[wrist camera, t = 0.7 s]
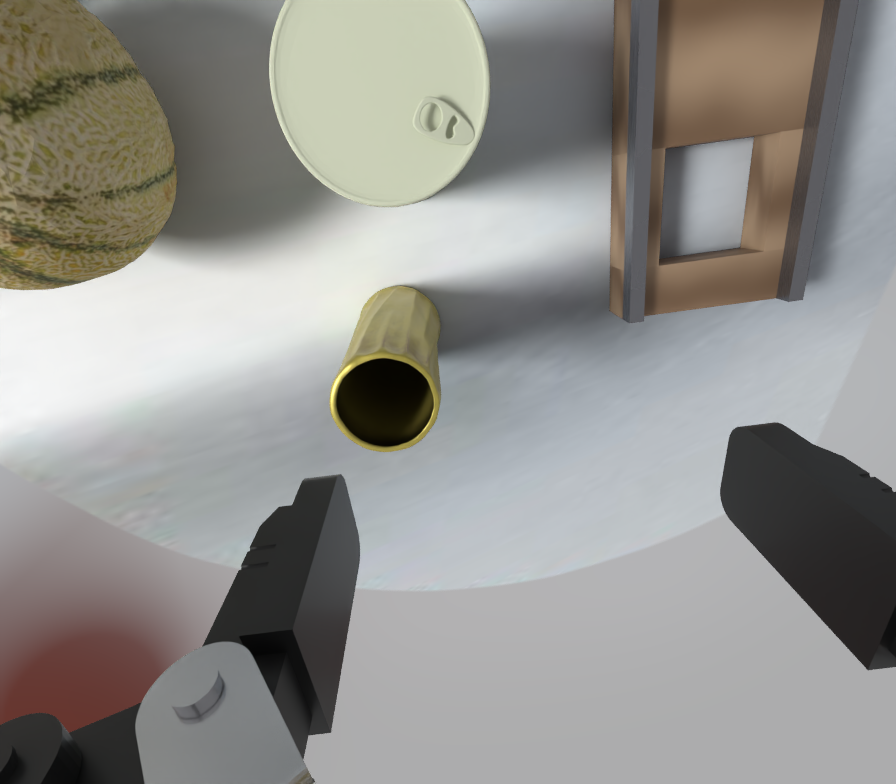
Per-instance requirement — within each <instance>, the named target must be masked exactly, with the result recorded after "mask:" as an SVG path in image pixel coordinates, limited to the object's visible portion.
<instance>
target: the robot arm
mask: <svg viewBox="0 0 896 784" xmlns="http://www.w3.org/2000/svg"><path fill="white" fill-rule="evenodd" d="M720 496H721V502H722V505H723V508H724V510H725V512H726V514H727V516H728V517H729V519H730V520H731V521H732V522H733V523H734V525H735V526H736V527H737V528H738V529H739V530H740V531H741V532H742V533H743V534H744V535H745V537H746V538H747V539H748V540H749V541H750V542H751V543H752V544H753V545H754V546H755V547H756V548H757V550H758V551H759V552H760V553H761V554H762V555H763V556H764V557H765V558H766V560H767V561H768V562H769V563H770V564H771V565H772V566H773V567H774V568H775V569H776V570H777V571H778V572H779V574H780V575H781V576H782V577H783V578H784V579H785V580H786V581H787V582H788V583H789V584H790V586H791V587H792V588H793V589H794V590H795V591H796V592H797V593H798V594H799V595H800V596H801V598H802V599H803V600H804V601H805V602H806V603H807V604H808V605H809V606H810V607H811V608H812V610H813V611H814V612H815V613H816V614H817V615H818V616H819V617H820V618H821V619H822V621H823V622H824V623H825V624H826V625H827V626H828V627H829V628H830V629H831V630H832V631H833V633H834V634H835V635H836V636H837V637H838V638H839V639H840V640H841V641H842V642H843V643H844V644H845V646H846V647H847V648H848V649H849V650H850V651H851V652H852V653H853V654H854V655H855V657H856V658H857V659H858V660H859V661H860V662H861V663H862V664H863V665H864V666H865V667H866V669H867V670H873V669H881V668H890V667H896V492H893V491H892V488H891V487H889V486H888V485H887V484H885V483H883V482H882V481H880V480H879V479H877V478H876V477H870V475H869V473H868V472H866V471H865V470H863V469H862V468H860V467H858V466H857V465H856V464H854V463H852V462H851V461H849V460H848V459H846V458H845V457H843V456H841V455H838V454H836V453H833V452H831V451H828V450H826V449H823V448H821V447H818V446H816V445H813V444H812V443H810V442H809V441H807V440H806V439H804V438H803V437H801V436H800V435H798V434H797V433H795V432H794V431H792V430H791V429H789V428H787V427H786V426H784V425H783V424H780V423H767V424H759V425H751V426H743V427H737V428H735V429H734V430H733V431H732V432H731V434H730V437H729V442H728V448H727V454H726V459H725V465H724V471H723V477H722V482H721V489H720ZM359 561H360V544H359V535H358V530H357V526H356V522H355V518H354V514H353V510H352V506H351V502H350V498H349V494H348V490H347V486H346V483H345V480H344V478H343V476H342V475H341V474H339V475H331V476H323V477H315V478H306V479H304V480H303V481H302V483H301V485H300V487H299V490H298V492H297V495H296V497H295V500H294V502H293V505H291V506H282V507H278V508H277V509H276V510H275V511H274V512H273V513H272V514H271V516H270V517H269V518H268V519H267V520H266V521H265V522H264V523H263V524H262V525H261V526H260V527H259V529H258V531H257V534H256V536H255V538H254V540H253V542H252V544H251V546H250V551H249V552H247V554H246V557H245V559H244V561H243V563H242V565H241V567H242V568H241V570H239V571H238V573H237V575H236V577H235V580H234V582H233V584H232V586H231V588H230V590H229V592H228V594H227V596H226V598H225V601H224V603H223V605H222V607H221V609H220V611H219V613H218V615H217V617H216V619H215V622H214V624H213V626H212V628H211V630H210V632H209V634H208V636H207V638H206V640H205V642H204V644H203V646H202V647H201V648H198V649H196V650H194V651H192V652H190V653H189V654H187V655H185V656H184V657H182V658H181V659H179V660H178V661H176V662H175V663H174V664H173V665H172V666H170V667H169V668H168V669H167V670H166V671H165V672H164V673H163V674H162V675H161V676H160V677H159V678H158V679H157V680H156V682H155V683H154V684H153V685H152V686H151V688H150V689H149V691H148V693H147V694H146V696H145V697H144V699H143V701H142V702H141V703H139V704H137V705H135V706H133V707H130V708H128V709H125V710H123V711H121V712H118V713H116V714H114V715H111V716H109V717H106V718H104V719H102V720H99V721H97V722H94V723H92V724H89V725H87V726H85V727H82V728H80V729H77V730H75V731H72V732H70V733H68V731H67V730H66V729H65V728H64V726H63V725H62V724H61V722H59V720H58V719H57V718H56V717H55V716H53V715H50V714H46V713H35V714H29V715H25V716H21V717H18V718H15V719H13V720H10V721H8V722H6V723H4V724H2V725H0V784H316V783H315V781H314V779H313V778H312V777H311V775H310V773H309V771H308V769H307V767H306V765H305V763H304V761H303V758H304V754H305V749H306V744H307V739H308V735H315V734H323V733H331V728H332V722H333V715H334V710H335V705H336V699H337V693H338V687H339V681H340V675H341V669H342V663H343V657H344V651H345V644H346V639H347V633H348V627H349V621H350V615H351V609H352V603H353V598H354V592H355V586H356V580H357V574H358V568H359Z"/></svg>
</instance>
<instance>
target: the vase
mask: <svg viewBox="0 0 896 784" xmlns="http://www.w3.org/2000/svg"><path fill="white" fill-rule="evenodd" d="M440 327H441V325H440V318H439V315H438V312H437V310H436V308H435V306H434V304H433V303H432V302H431V301H430V300H429V299H428V298H427V297H426V296H424V295H423V294H422V293H420V292H419V291H417V290H415V289H413V288H409V287H404V286H393V287H388V288H385V289H382V290H380V291H378V292H377V293H375V294H374V295H373V296H372V297H371V298H370V299H369V300H368V301H367V303H366V304H365V305H364V307H363V309H362V312H361V315H360V319H359V321H358V323H357V326H356V329H355V331H354V334H353V337H352V340H351V342H350V345H349V348H348V351H347V353H346V355H345V358H344V360H343V362H342V365H341V367H340V369H339V371H338V373H337V375H336V377H335V379H334V382H333V384H332V387H331V392H330V411H331V415H332V417H333V419H334V421H335V423H336V424H337V426H338V428H339V429H340V430H341V432H342V433H343V434H344V435H345V436H347V437H348V438H349V439H350V440H352V441H353V442H355V443H356V444H358V445H360V446H362V447H364V448H366V449H369V450H373V451H379V452H391V451H398V450H402V449H406V448H409V447H411V446H413V445H415V444H416V443H418V442H419V441H420V440H422V439H423V438H424V437H425V436H426V434H427V433H428V432H429V430H430V429H431V428H432V426H433V425H434V423H435V421H436V419H437V415H438V411H439V406H440V401H441V386H440V377H439V366H438V350H437V342H438V339H439V336H440Z"/></svg>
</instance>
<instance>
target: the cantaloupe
mask: <svg viewBox="0 0 896 784" xmlns="http://www.w3.org/2000/svg"><path fill="white" fill-rule="evenodd" d="M174 152H175V146H174V144H173V141H172V137H171V132H170V129H169V126H168V121H167V118H166V116H165V114H164V112H163V110H162V108H161V106H160V104H159V102H158V100H157V98H156V96H155V94H154V92H153V90H152V88H151V87H150V85H149V84H148V82H147V81H146V79H145V78H144V77H143V76H142V75H141V74H140V72H139V70H138V68H137V66H136V65H135V63H134V61H133V59H132V57H131V56H130V55H129V53H128V52H127V51H126V50H125V49H124V48H123V46H122V45H121V44H120V42H119V41H118V40H117V38H116V36H115V35H114V34H113V33H112V32H111V31H110V30H109V29H108V28H107V27H106V26H105V25H104V24H103V23H102V22H101V21H100V20H99V19H98V18H97V17H96V16H95V15H94V14H92V13H90V12H88V11H87V10H86V9H85V8H84V7H83V6H82V5H81V4H80V3H79V2H78V1H77V0H0V288H5V289H17V290H43V289H54V288H59V287H64V286H69V285H74V284H78V283H81V282H85V281H88V280H91V279H94V278H97V277H101V276H104V275H107V274H110V273H113V272H115V271H117V270H119V269H121V268H123V267H125V266H126V265H127V264H129V263H131V262H133V261H135V260H136V259H137V258H138V257H139V256H141V255H142V254H143V253H144V252H145V251H146V250H147V249H148V248H149V247H150V246H151V245H152V243H153V242H154V240H155V239H156V237H157V235H158V233H159V232H160V231H161V229H162V228H163V227H164V225H165V223H166V222H167V220H168V218H169V217H170V215H171V212H172V209H173V204H174V202H175V197H176V185H177V178H176V176H177V167H176V164H175V162H174Z"/></svg>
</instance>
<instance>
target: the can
mask: <svg viewBox="0 0 896 784" xmlns="http://www.w3.org/2000/svg"><path fill="white" fill-rule="evenodd" d="M269 78H270V87H271V94H272V100H273V104H274V108H275V111H276V115H277V118H278V121H279V123H280V126H281V128H282V131H283V133H284V135H285V137H286V139H287V141H288V143H289V145H290V146H291V148H292V150H293V151H294V153H295V154H296V155H297V157H298V158H299V160H300V161H301V162H302V163H303V165H304V166H305V167H306V168H307V169H308V170H309V172H310V173H311V174H312V175H313V176H315V177H316V178H317V179H318V180H319V181H320V182H321V183H323V184H324V185H325V186H327V187H328V188H329V189H331V190H333V191H334V192H336V193H337V194H339V195H341V196H343V197H345V198H348V199H350V200H352V201H355V202H358V203H361V204H365V205H370V206H376V207H399V206H404V205H409V204H413V203H416V202H420V201H422V200H425V199H427V198H429V197H431V196H433V195H434V194H436V193H437V192H439V191H440V190H441V189H443V188H444V187H446V186H447V185H448V184H449V183H450V182H451V181H452V180H453V179H454V178H456V177H457V176H458V174H459V173H460V172H461V171H462V170H463V168H464V167H465V166H466V164H467V163H468V161H469V160H470V158H471V156H472V155H473V153H474V151H475V150H476V148H477V145H478V143H479V141H480V139H481V136H482V133H483V130H484V127H485V123H486V119H487V114H488V109H489V102H490V69H489V62H488V56H487V51H486V47H485V43H484V40H483V37H482V34H481V31H480V28H479V26H478V23H477V21H476V19H475V17H474V15H473V13H472V11H471V9H470V8H469V6H468V4H467V3H466V1H465V0H286V1H285V3H284V5H283V7H282V9H281V11H280V14H279V16H278V19H277V22H276V25H275V28H274V32H273V36H272V41H271V48H270V59H269Z"/></svg>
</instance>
